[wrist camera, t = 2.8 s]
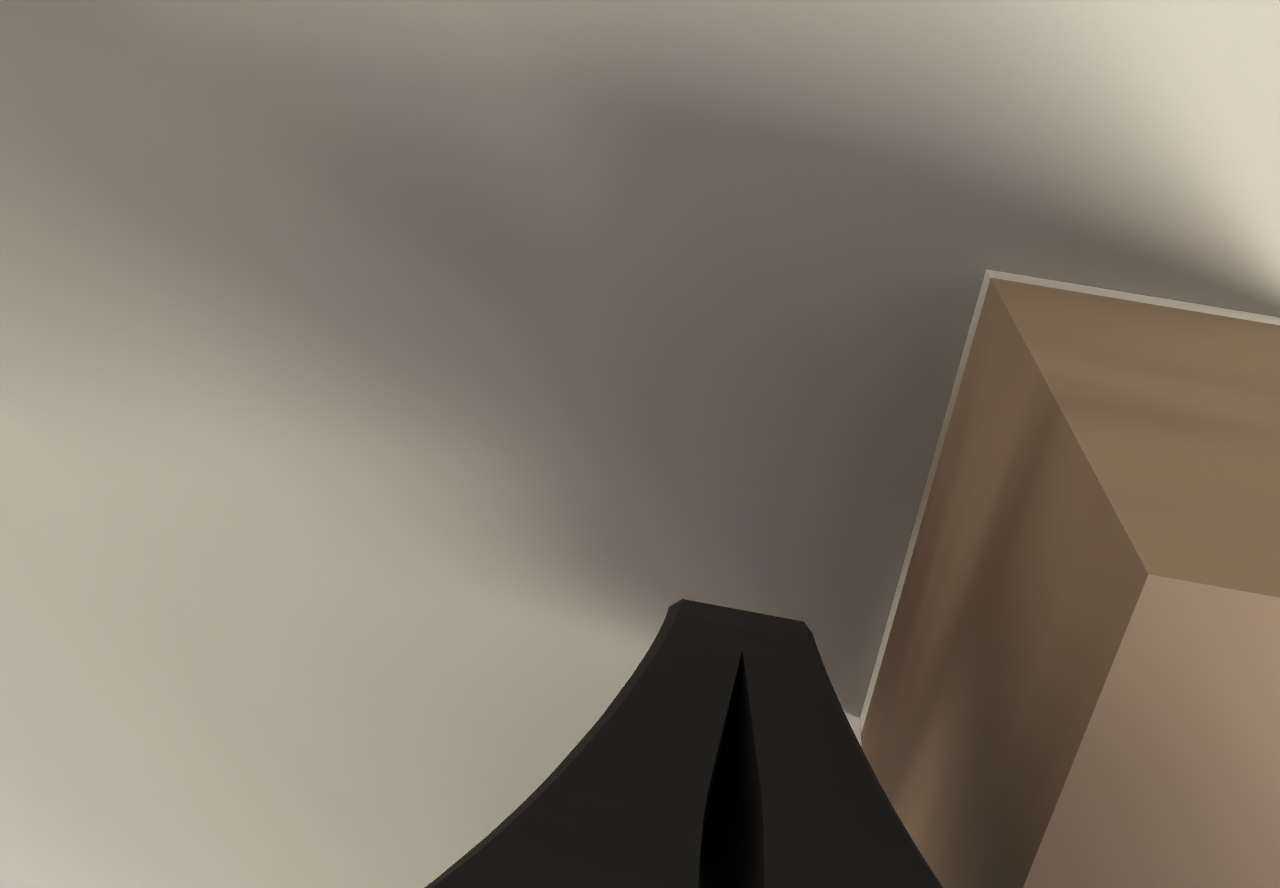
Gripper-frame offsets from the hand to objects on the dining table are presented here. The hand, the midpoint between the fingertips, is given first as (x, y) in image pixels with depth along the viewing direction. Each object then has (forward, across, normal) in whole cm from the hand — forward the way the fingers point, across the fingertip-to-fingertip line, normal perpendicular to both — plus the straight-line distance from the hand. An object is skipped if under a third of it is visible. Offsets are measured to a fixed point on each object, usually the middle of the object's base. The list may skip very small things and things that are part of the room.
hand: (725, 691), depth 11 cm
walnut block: (+4, -4, 0) cm, 6 cm away
